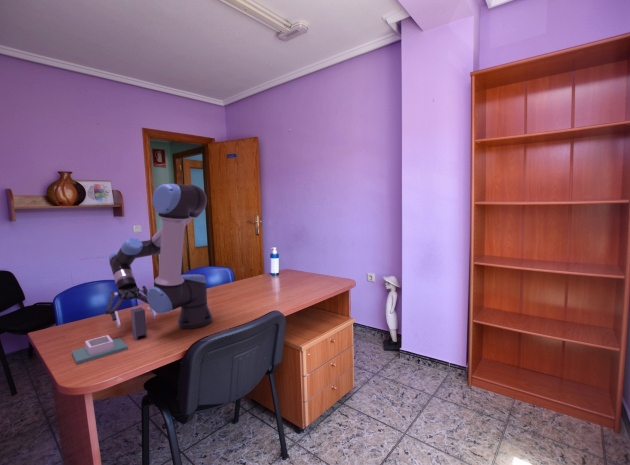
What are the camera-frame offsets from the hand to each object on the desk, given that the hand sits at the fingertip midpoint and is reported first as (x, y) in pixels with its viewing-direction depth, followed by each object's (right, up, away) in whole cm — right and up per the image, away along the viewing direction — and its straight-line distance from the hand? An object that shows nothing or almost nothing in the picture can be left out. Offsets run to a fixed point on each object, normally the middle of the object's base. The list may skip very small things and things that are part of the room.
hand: (137, 321), depth 134 cm
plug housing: (+1, -7, +1) cm, 7 cm away
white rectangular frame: (-8, -4, +39) cm, 40 cm away
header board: (-8, -8, -12) cm, 16 cm away
